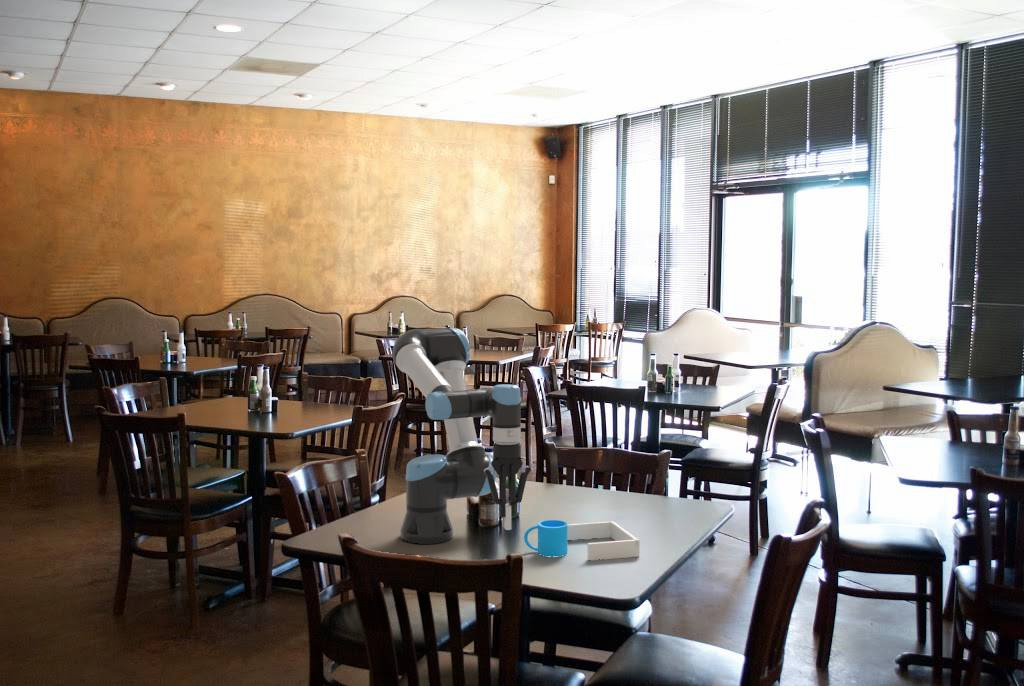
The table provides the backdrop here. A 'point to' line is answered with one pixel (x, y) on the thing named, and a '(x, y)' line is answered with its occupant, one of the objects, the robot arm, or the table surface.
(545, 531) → the mug
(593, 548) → the box
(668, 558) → the table surface
